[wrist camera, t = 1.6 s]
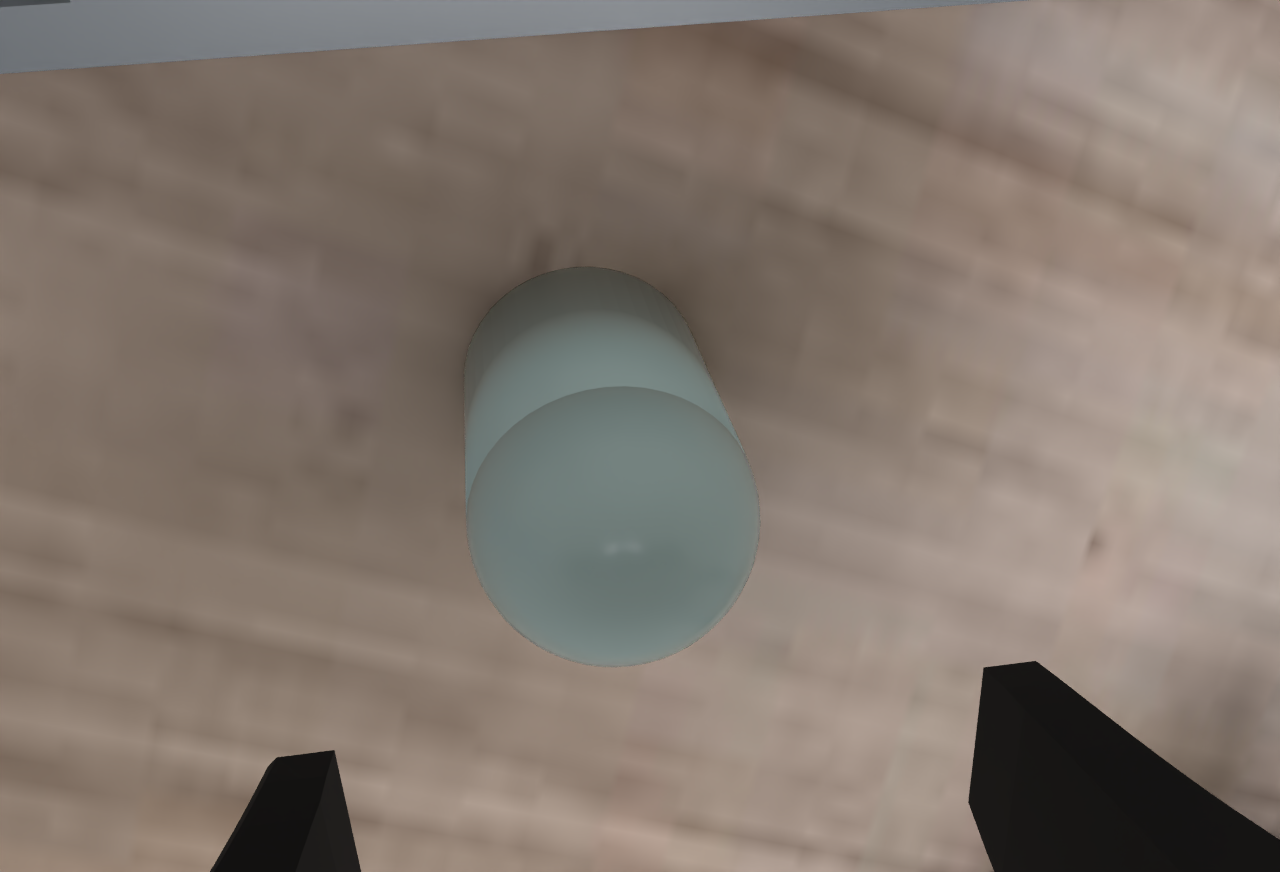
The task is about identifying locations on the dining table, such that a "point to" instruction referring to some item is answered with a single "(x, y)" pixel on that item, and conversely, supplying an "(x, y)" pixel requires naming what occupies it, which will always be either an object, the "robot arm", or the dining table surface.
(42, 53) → the tray
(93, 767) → the dining table surface
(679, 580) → the sage green capsule
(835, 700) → the dining table surface
